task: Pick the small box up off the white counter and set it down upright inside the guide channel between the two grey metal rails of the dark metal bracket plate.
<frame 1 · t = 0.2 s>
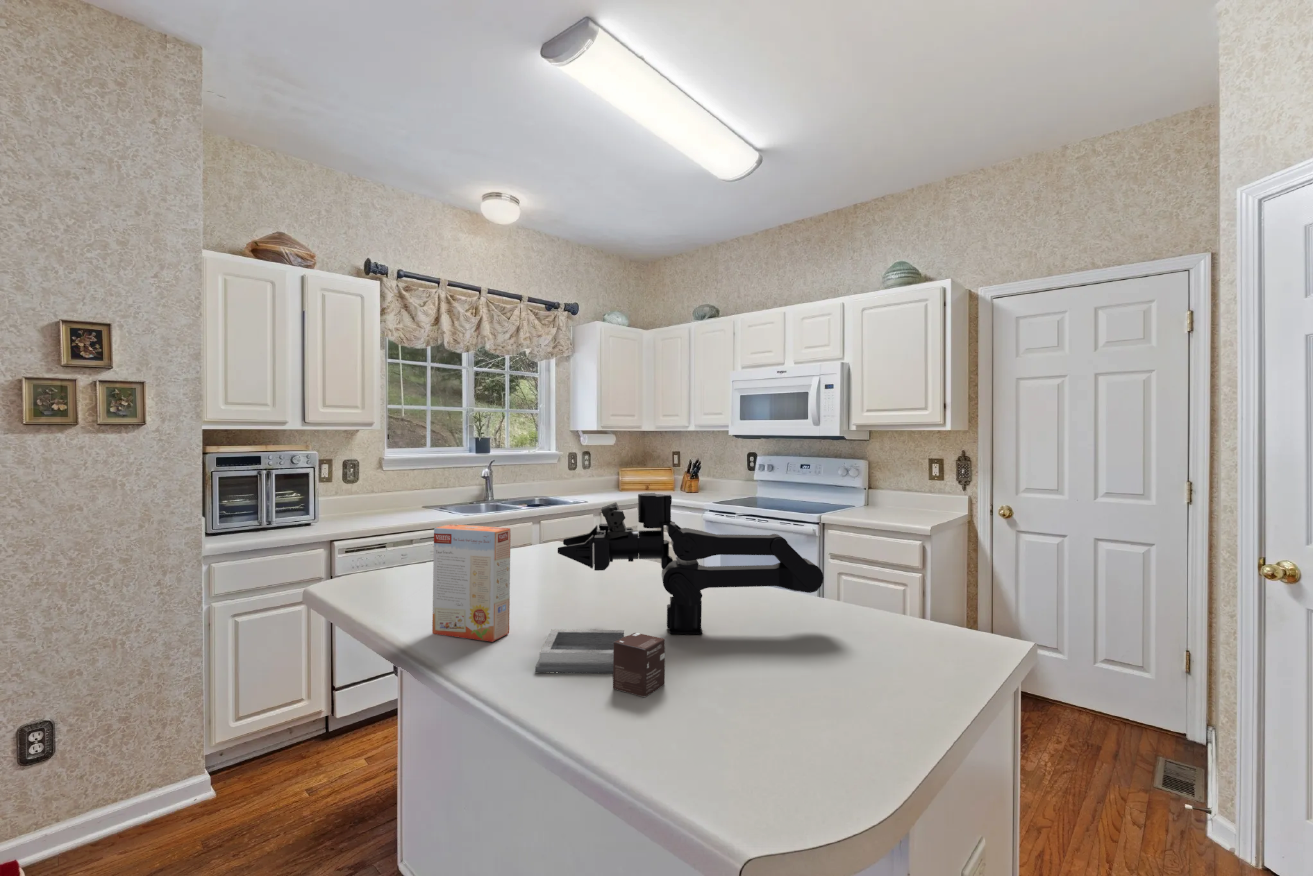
hand: (560, 546, 120), 17 cm above the counter, tool horizontal, fingers open, 9 cm apart
cracker box: (471, 635, 117), on the counter
box: (638, 688, 93), on the counter
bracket: (582, 657, 105), on the counter
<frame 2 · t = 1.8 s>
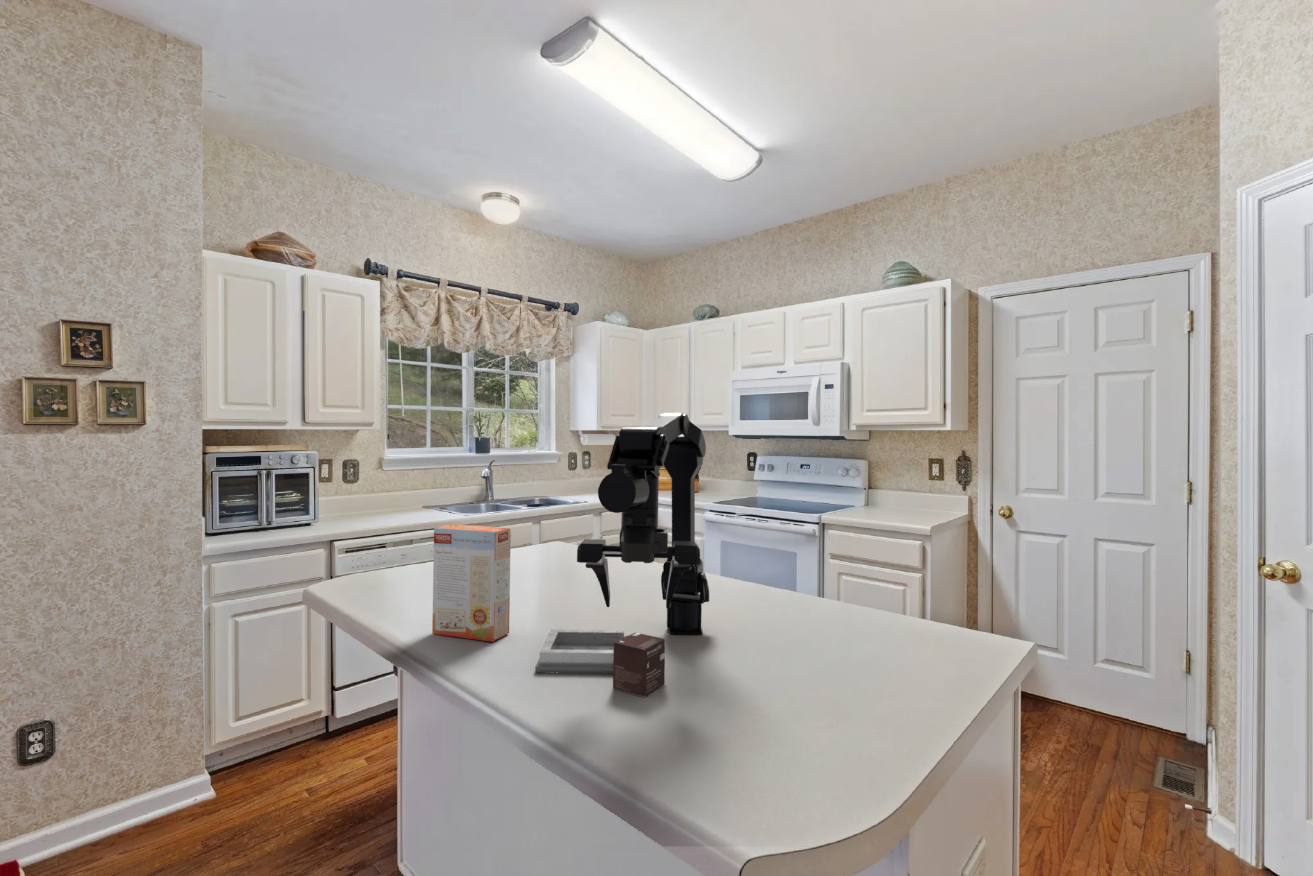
hand: (637, 607, 93), 12 cm above the counter, tool pointing down, fingers open, 9 cm apart
nothing on the counter moved.
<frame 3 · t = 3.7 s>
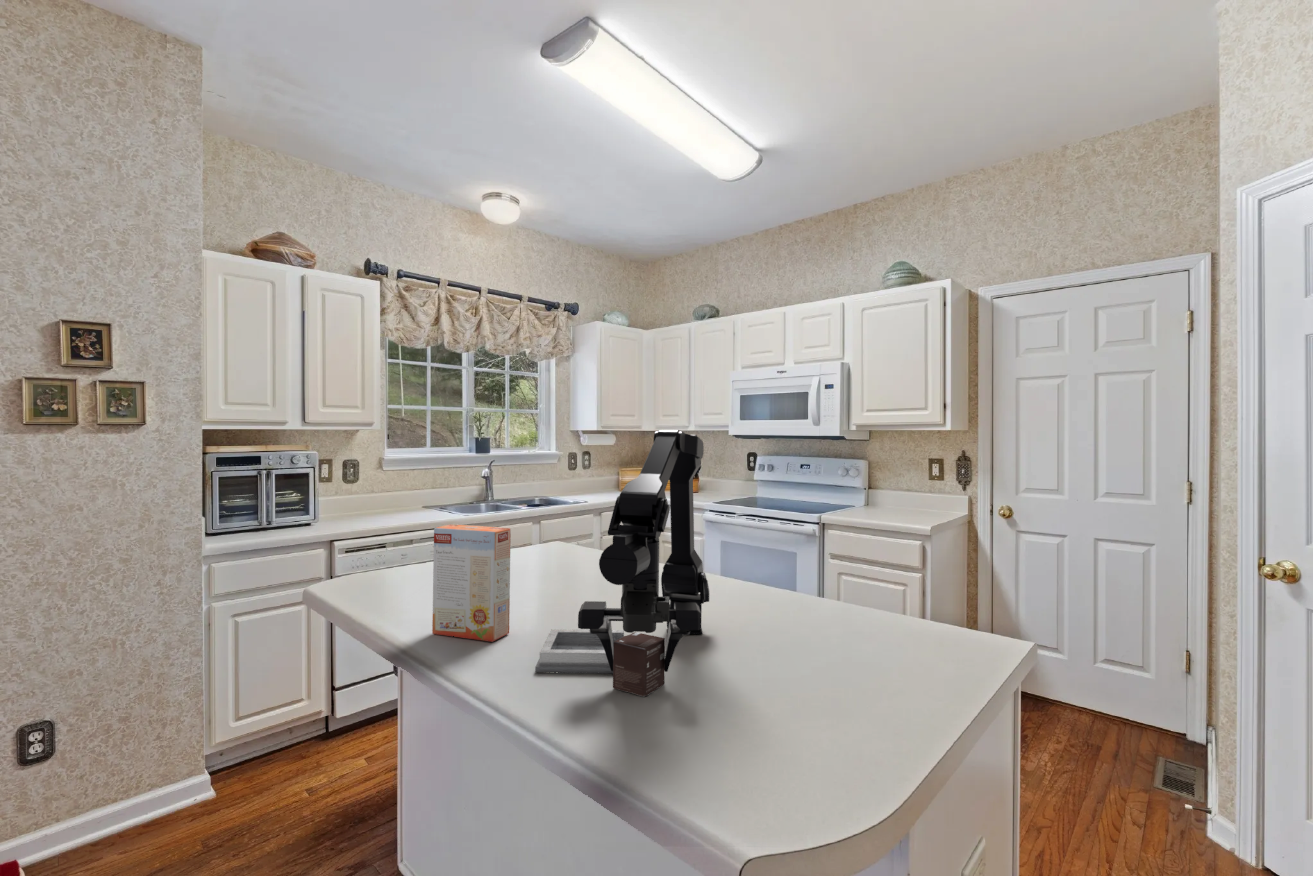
hand: (639, 670, 93), 3 cm above the counter, tool pointing down, fingers closed on box, 8 cm apart
box: (638, 688, 93), on the counter, touching gripper
everything else where it was.
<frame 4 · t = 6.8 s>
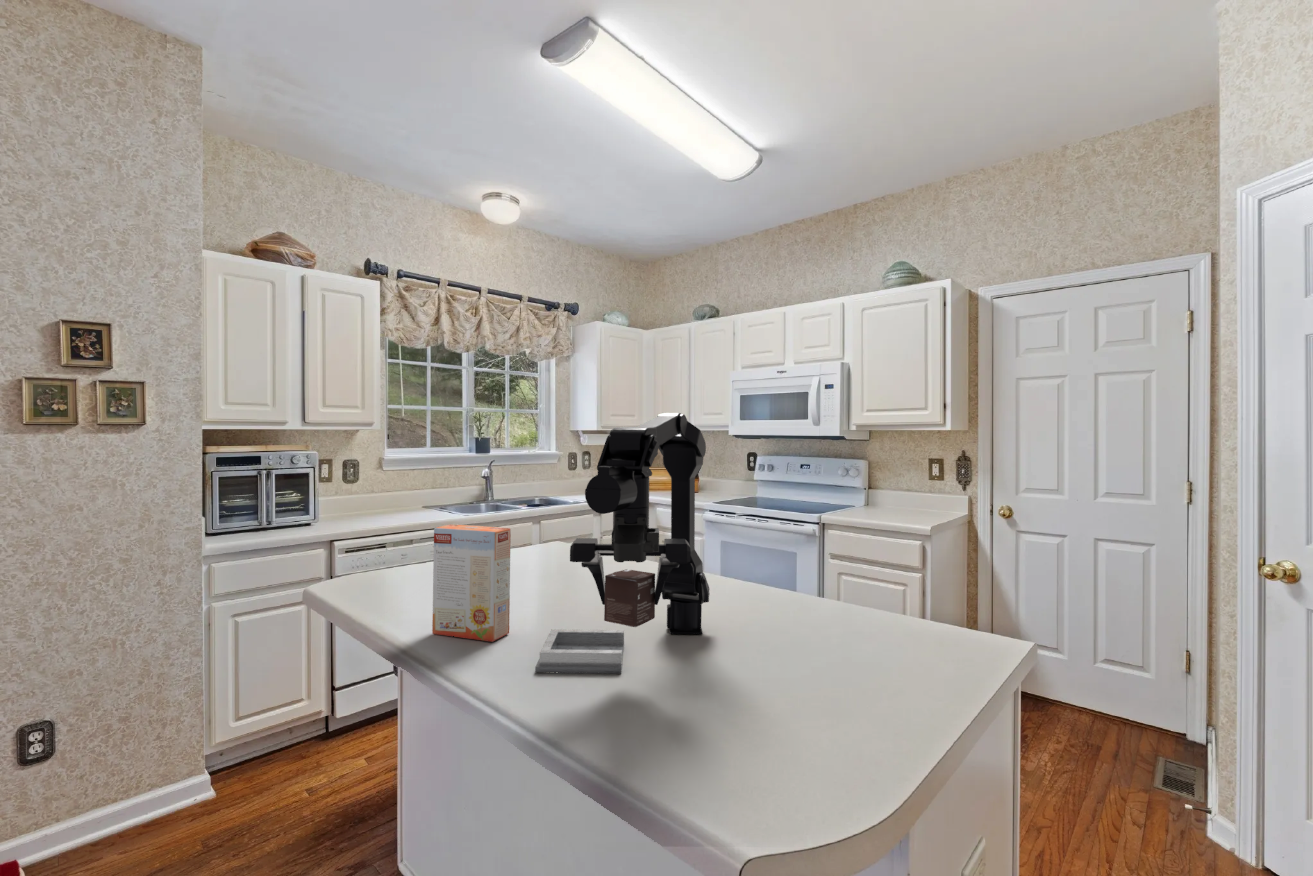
hand: (630, 604, 95), 12 cm above the counter, tool pointing down, fingers closed on box, 8 cm apart
box: (629, 621, 95), point 9 cm above the counter, touching gripper
everything else where it was.
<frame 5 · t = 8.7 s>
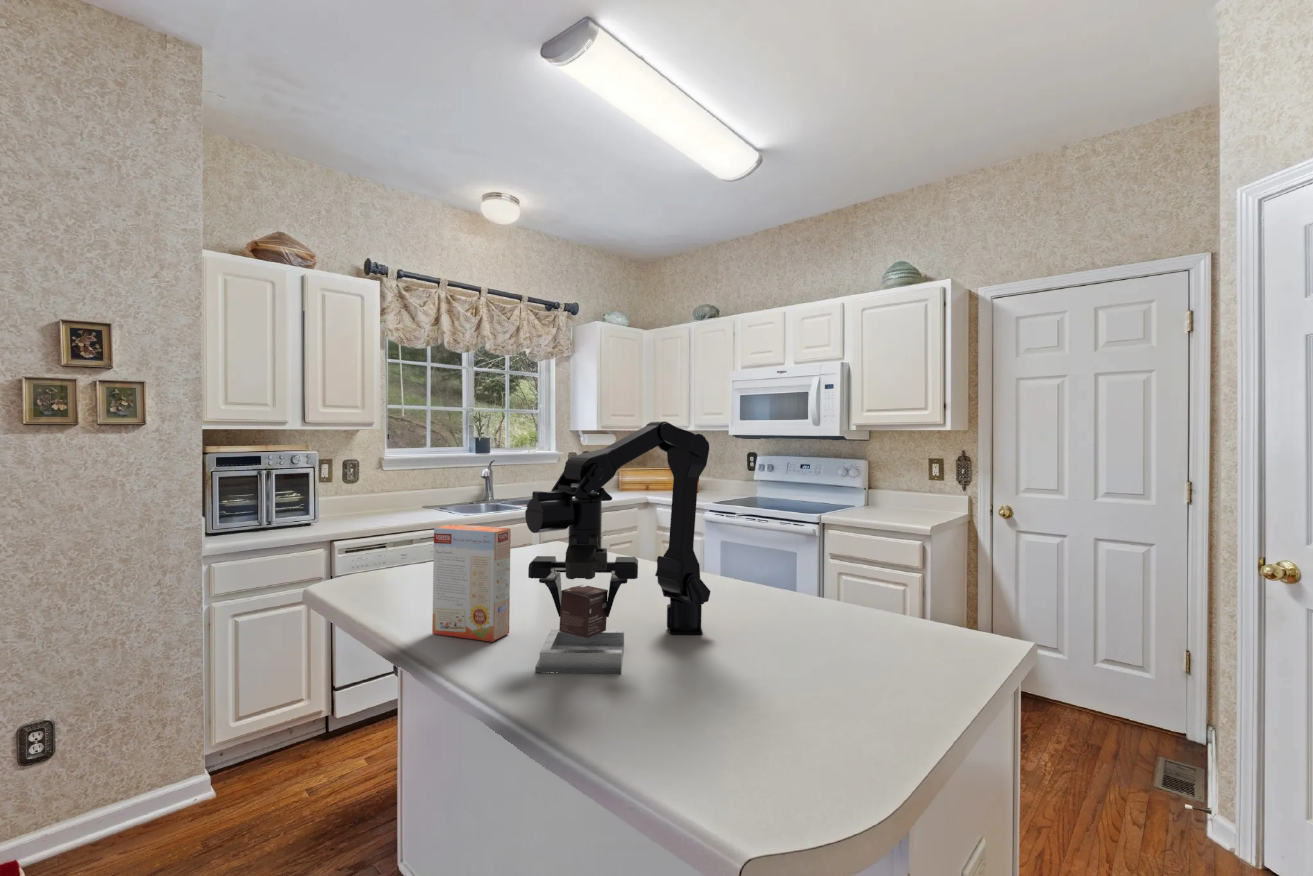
hand: (584, 616, 105), 7 cm above the counter, tool pointing down, fingers closed on box, 8 cm apart
box: (582, 632, 105), point 4 cm above the counter, touching gripper
everything else where it was.
when the fingers open (4 cm above the counter, at t = 10.2 s): box stays where it is, resting on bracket.
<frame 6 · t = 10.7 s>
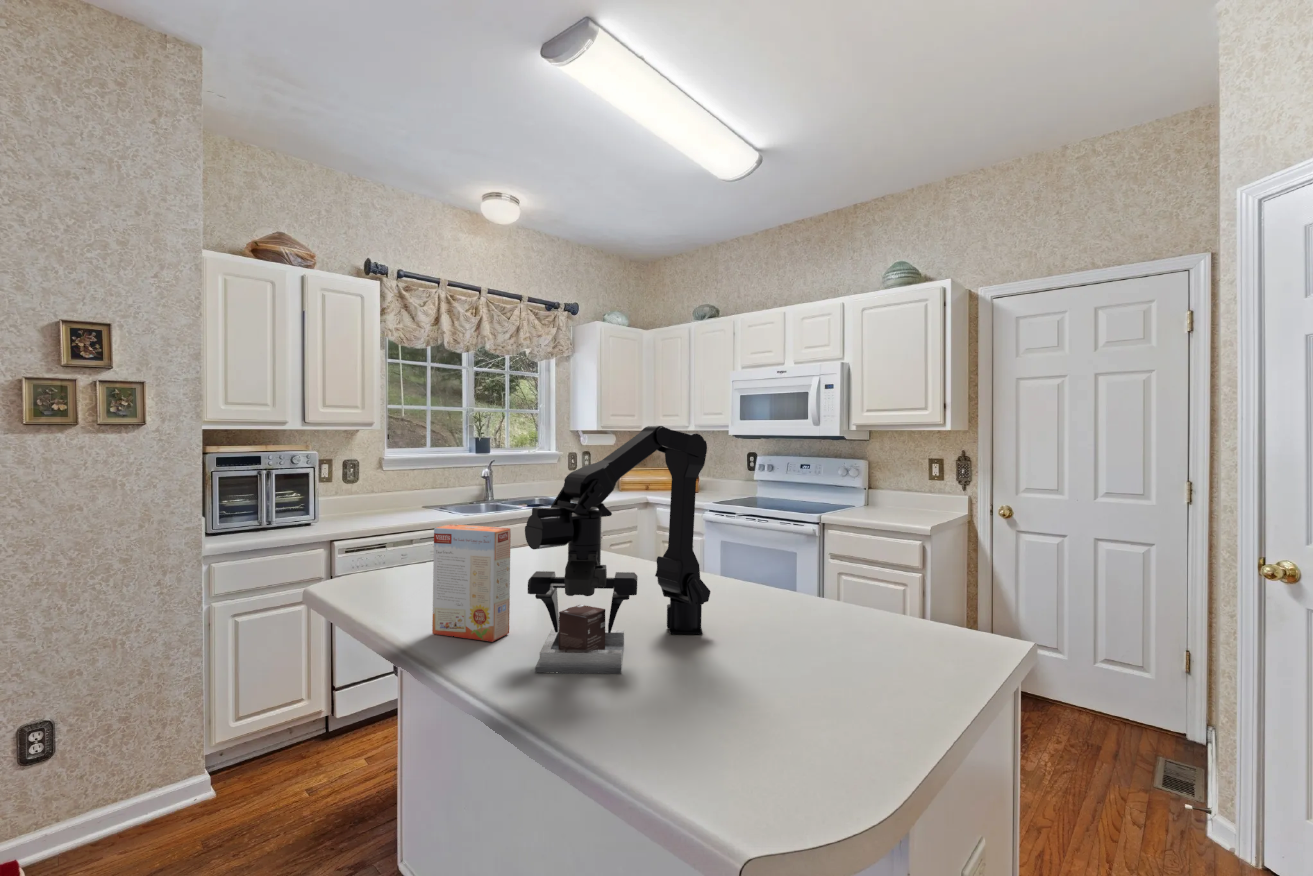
hand: (583, 632, 105), 4 cm above the counter, tool pointing down, fingers open, 9 cm apart
box: (581, 653, 105), point 1 cm above the counter, touching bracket
everything else where it was.
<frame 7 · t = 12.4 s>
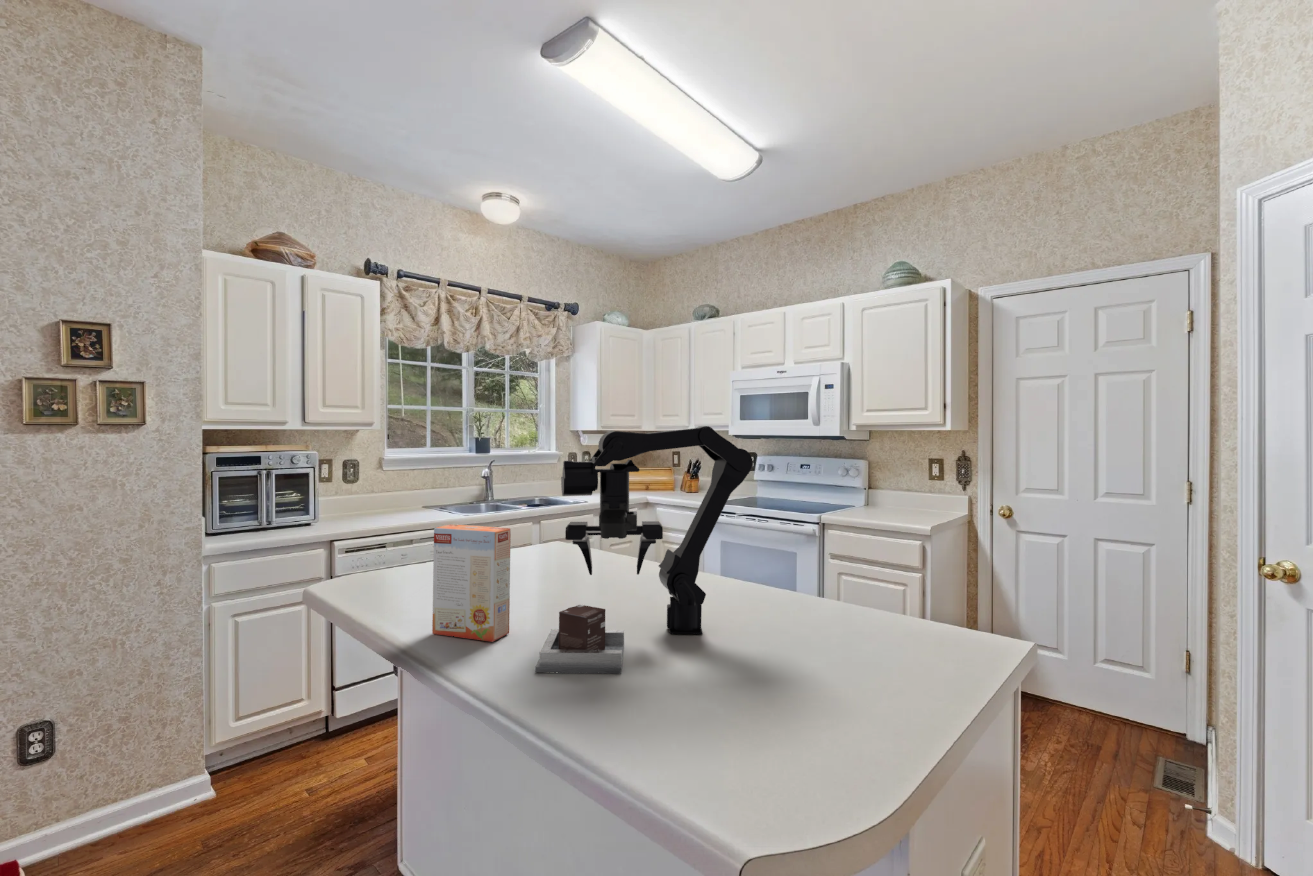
hand: (614, 574, 118), 12 cm above the counter, tool pointing down, fingers open, 9 cm apart
nothing on the counter moved.
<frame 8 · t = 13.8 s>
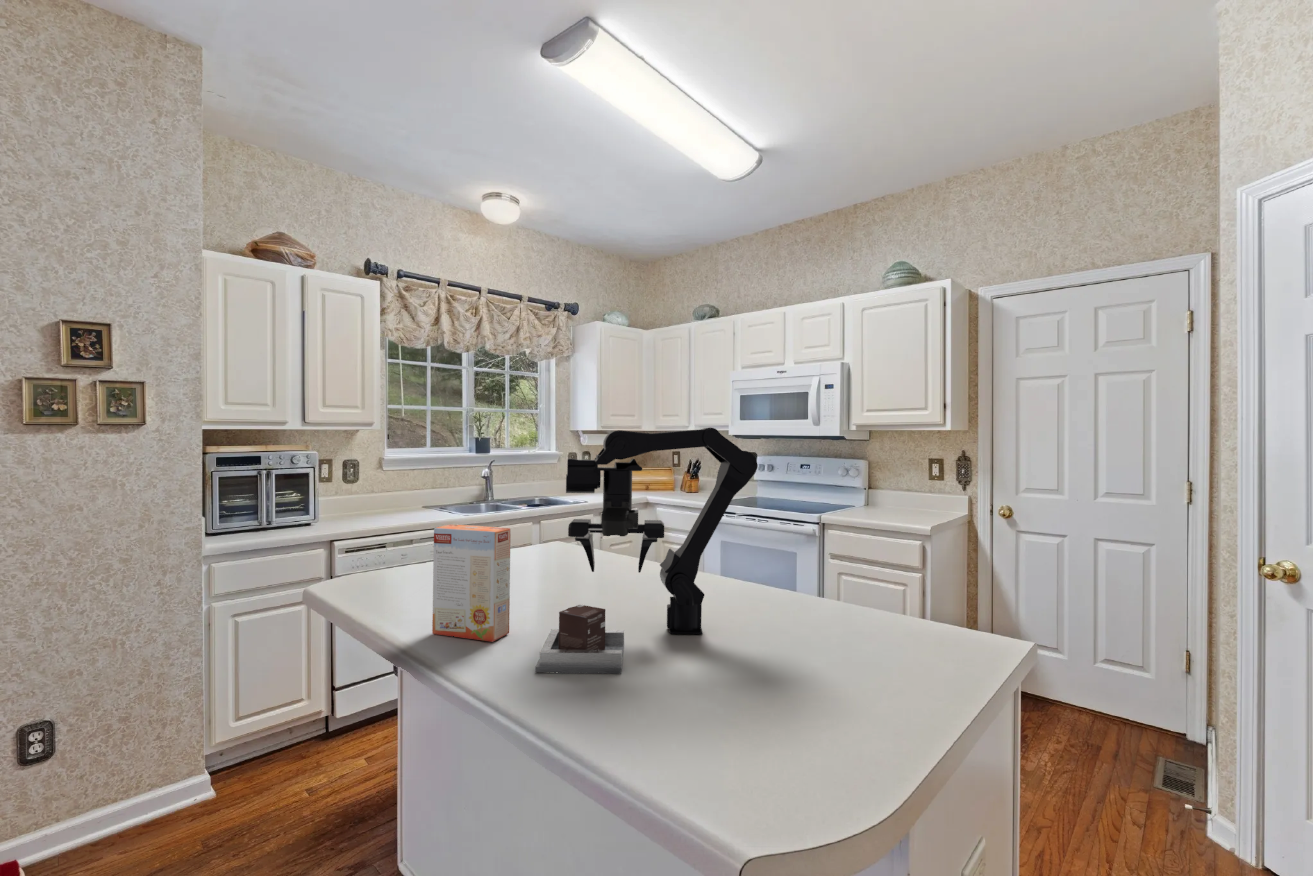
hand: (616, 571, 119), 12 cm above the counter, tool pointing down, fingers open, 9 cm apart
nothing on the counter moved.
at the end: box 1.0 cm off-centre on the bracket, point 0.8 cm above the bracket's base; box tilted 0°; the gripper is holding nothing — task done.
